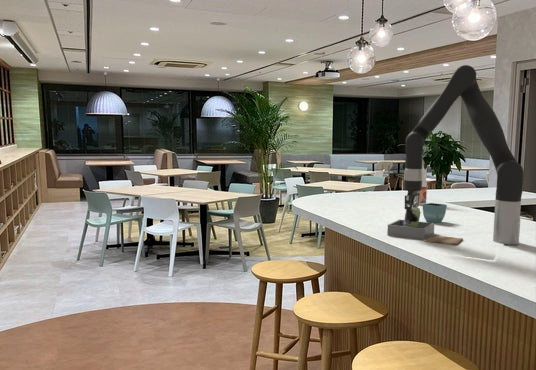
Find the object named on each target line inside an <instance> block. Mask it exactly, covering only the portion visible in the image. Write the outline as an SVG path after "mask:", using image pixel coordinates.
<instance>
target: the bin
mask: <svg viewBox="0 0 536 370" xmlns="http://www.w3.org/2000/svg"><path fill="white" fill-rule="evenodd" d="M403 224H404V219H397V220H395V221H393V222H391V223H389V224H387V232H386V233H387V235H386V236H390V237H399V238H400V237H401V238H406V239H407V238H408V239H416V240H423V241H424V240H426V239H428V238H429V237H431V236H432V235H435V223H432V222H427V221H425V222H424V221H419V224H418V228H415V227H406V226H403Z"/></svg>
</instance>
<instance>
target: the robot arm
mask: <svg viewBox="0 0 536 370" xmlns="http://www.w3.org/2000/svg"><path fill="white" fill-rule="evenodd" d="M448 81H449V82H448V83H447V84H446V86H445V88H444V89H443V91H442V92H441V94H440V95H439V96H438V97H437V98H436V99H435V101H434V102H433V103H432V105H431V106H429V108H428V109H427V111H425V113H424V114H423V116H421V118H420V119H419V121H418V123H417V124H416V125H415V127H414V128H413V129H412V130H411V132H410V133H408V135H407V136H406V138H405V158H404V159H405V160H404V172H403V190H404V191H407V194H406V195H404V210H405V211H406V210H407V213H406V212H405V213H406V219H412V210H413V207H417V208H419V206H420V205H419V195H420V193H417V191H421V190H422V160H423V149H424V148H423V147H424V143H425V141H426V140H427V139H428V137H429V136H430V134H431V133H432V132H433V131H434V130H435V129H436V128H437V126H438V125H439V124H440V123H441V121H442V120H444V118H445V116H446V114H447V113H448V112H449V111H450V109H451V107H452V106H453V104H454V103H455V102H456V100H458V98H459V97H461V99H462V100H463V101H462V102H463V103H464V105H465V107H466V111H467V113H468V116H469V119H470V121H471V123H472V126H473V128H474V130H475V133H476V135H477V136H478V138H479V139H480V141H481V143H482V144H483V146H484V147H485V149H486V151H487V152H488V154H489V156H490V158H491V161H492V164H493V165H494V169H495V171H496V172H495V173H496V175H497V176H496V189H495V198H494V199H495V200H494V214H493V215H494V218H493V232H492V233H493V236H492V237H493V238H492V241H493V243H494V242H495V243H498V244H504V245H510V246H511V245H516V246H518V244H519V243H520V235H521V234H520V233H521V232H520V231H521V230H520V228H521V205H522V195H523V190H524V189H523V187H524V185H523V184H524V169H523V166H522V164H520V163H519V162H518V161H517V160H516V158H515V157H514V154H513V153H512V152H511V150H510V148H509V145H508V143H507V140H506V136H505V135H506V134H505V132H504V130H503V127H502V125H501V123H500V121H499V118H498V117H497V115H496V113H495V111H494V109H493V108H492V107H491V105H490V103H488V101H487V100H486V99H485V97H484V96H483V94H482V92H481V89H480V87H479V84H478V80H477V72H476V69H475V68H474V67H473V66H471V65H468V64H464V65H463V64H462V65H460V66H458V67H456V68H455V70H454V71H453V73H452V75H451V78H450V79H449V80H448Z"/></svg>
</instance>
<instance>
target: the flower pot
mask: <svg viewBox="0 0 536 370" xmlns="http://www.w3.org/2000/svg"><path fill="white" fill-rule="evenodd" d="M421 206H422V214H423V218H424V220H425V222H428V223H434V224H438V223H442V221H443V220H444V218H445V217H446V216H445V215H446V212H447V206H448V205H447V204H445V203H444V204H443V203H436V202H435V203H434V202H429V203H427V202H426V204H422V205H421Z"/></svg>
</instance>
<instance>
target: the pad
mask: <svg viewBox="0 0 536 370" xmlns="http://www.w3.org/2000/svg"><path fill="white" fill-rule="evenodd" d="M463 240H464V238H463V237H462V238H461V237H453V236H444V235H435V234H432V235H431V236H429V237H428V238H426V239H425V241H424V242H426V243H433V244H434V243H435V244H441V245H450V246H458V245H459V244H460V243H461V242H462V241H463Z"/></svg>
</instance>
